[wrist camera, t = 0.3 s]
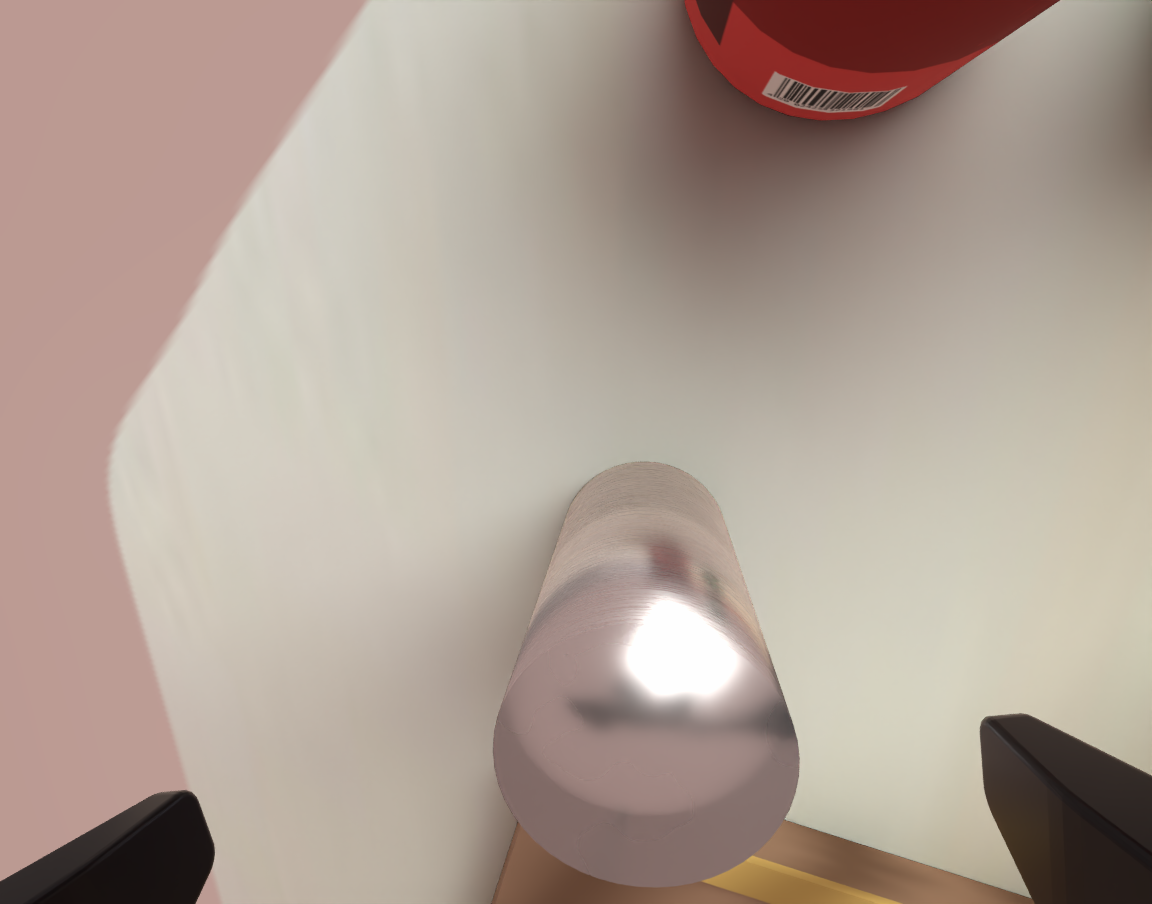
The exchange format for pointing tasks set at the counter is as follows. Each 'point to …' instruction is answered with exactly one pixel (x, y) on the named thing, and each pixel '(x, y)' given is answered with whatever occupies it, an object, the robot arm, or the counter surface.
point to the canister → (646, 693)
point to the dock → (755, 878)
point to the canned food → (848, 48)
